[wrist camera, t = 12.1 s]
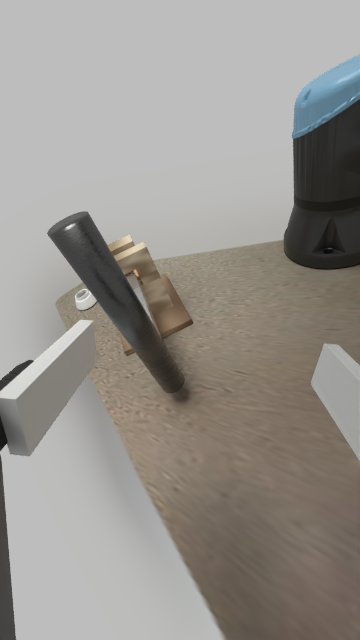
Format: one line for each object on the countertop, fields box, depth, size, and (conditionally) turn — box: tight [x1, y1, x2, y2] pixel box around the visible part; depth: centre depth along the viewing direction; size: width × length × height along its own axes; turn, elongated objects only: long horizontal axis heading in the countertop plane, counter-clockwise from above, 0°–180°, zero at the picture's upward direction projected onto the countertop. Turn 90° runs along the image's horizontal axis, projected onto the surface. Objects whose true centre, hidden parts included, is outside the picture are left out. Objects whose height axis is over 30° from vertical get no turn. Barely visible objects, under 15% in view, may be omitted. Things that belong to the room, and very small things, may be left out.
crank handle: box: [47, 212, 185, 393], centre depth 29 cm, size 3×18×21 cm, turn 19°
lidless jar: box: [75, 289, 97, 310], centre depth 55 cm, size 5×3×5 cm
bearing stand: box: [107, 235, 193, 355], centre depth 42 cm, size 12×16×13 cm
